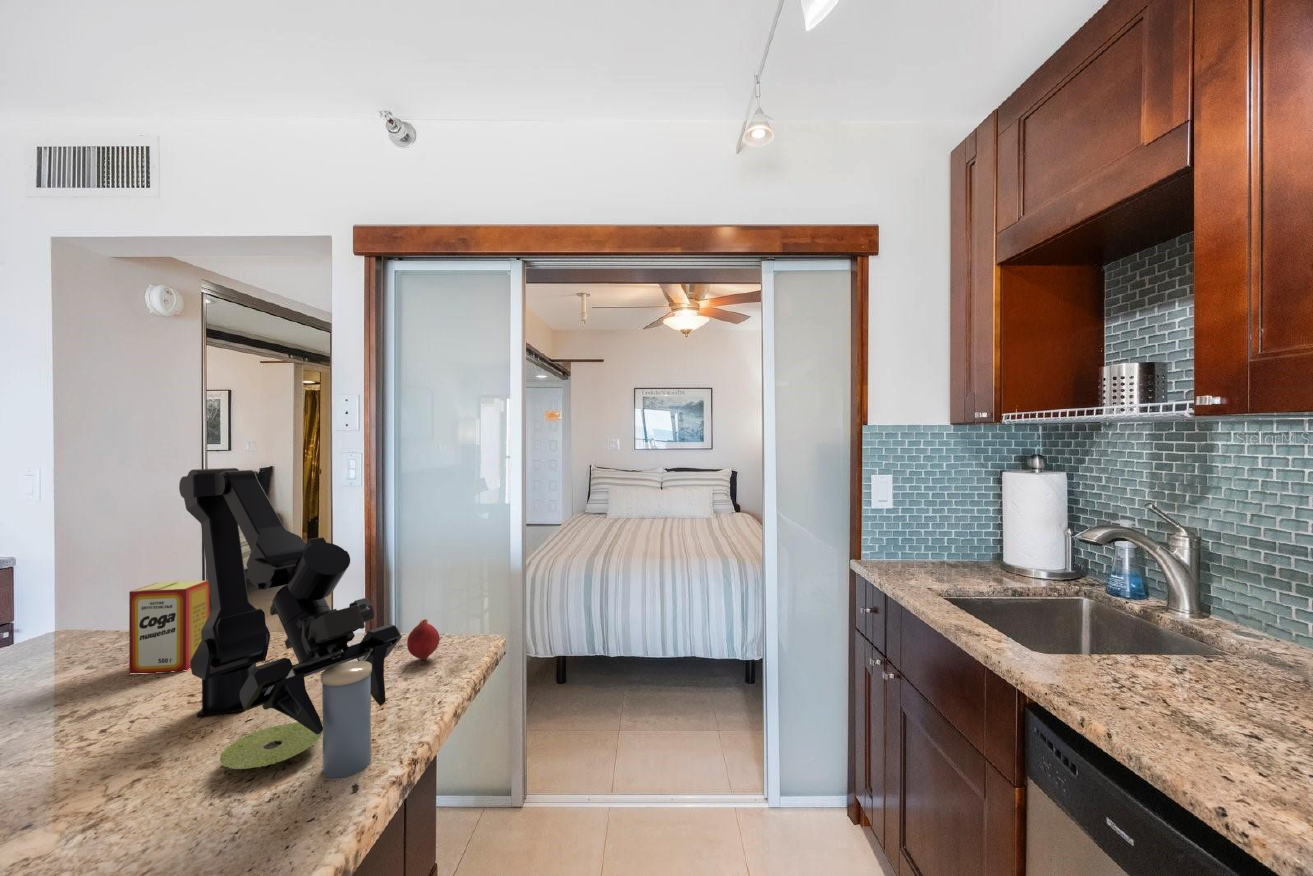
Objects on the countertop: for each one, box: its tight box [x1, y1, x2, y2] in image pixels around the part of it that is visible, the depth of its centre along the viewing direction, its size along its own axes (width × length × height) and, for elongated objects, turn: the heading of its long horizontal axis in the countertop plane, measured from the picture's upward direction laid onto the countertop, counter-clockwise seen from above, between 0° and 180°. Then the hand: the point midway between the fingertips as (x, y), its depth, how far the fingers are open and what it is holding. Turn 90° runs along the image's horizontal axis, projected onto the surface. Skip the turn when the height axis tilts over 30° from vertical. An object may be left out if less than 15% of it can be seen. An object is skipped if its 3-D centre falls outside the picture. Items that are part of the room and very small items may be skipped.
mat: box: [219, 722, 323, 770], centre depth 72 cm, size 11×11×2 cm
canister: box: [320, 660, 372, 779], centre depth 70 cm, size 6×6×12 cm
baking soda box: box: [128, 579, 211, 674], centre depth 103 cm, size 10×6×16 cm
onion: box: [406, 618, 441, 661], centre depth 104 cm, size 6×6×8 cm
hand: (353, 717), depth 69 cm, fingers open, 8 cm apart
